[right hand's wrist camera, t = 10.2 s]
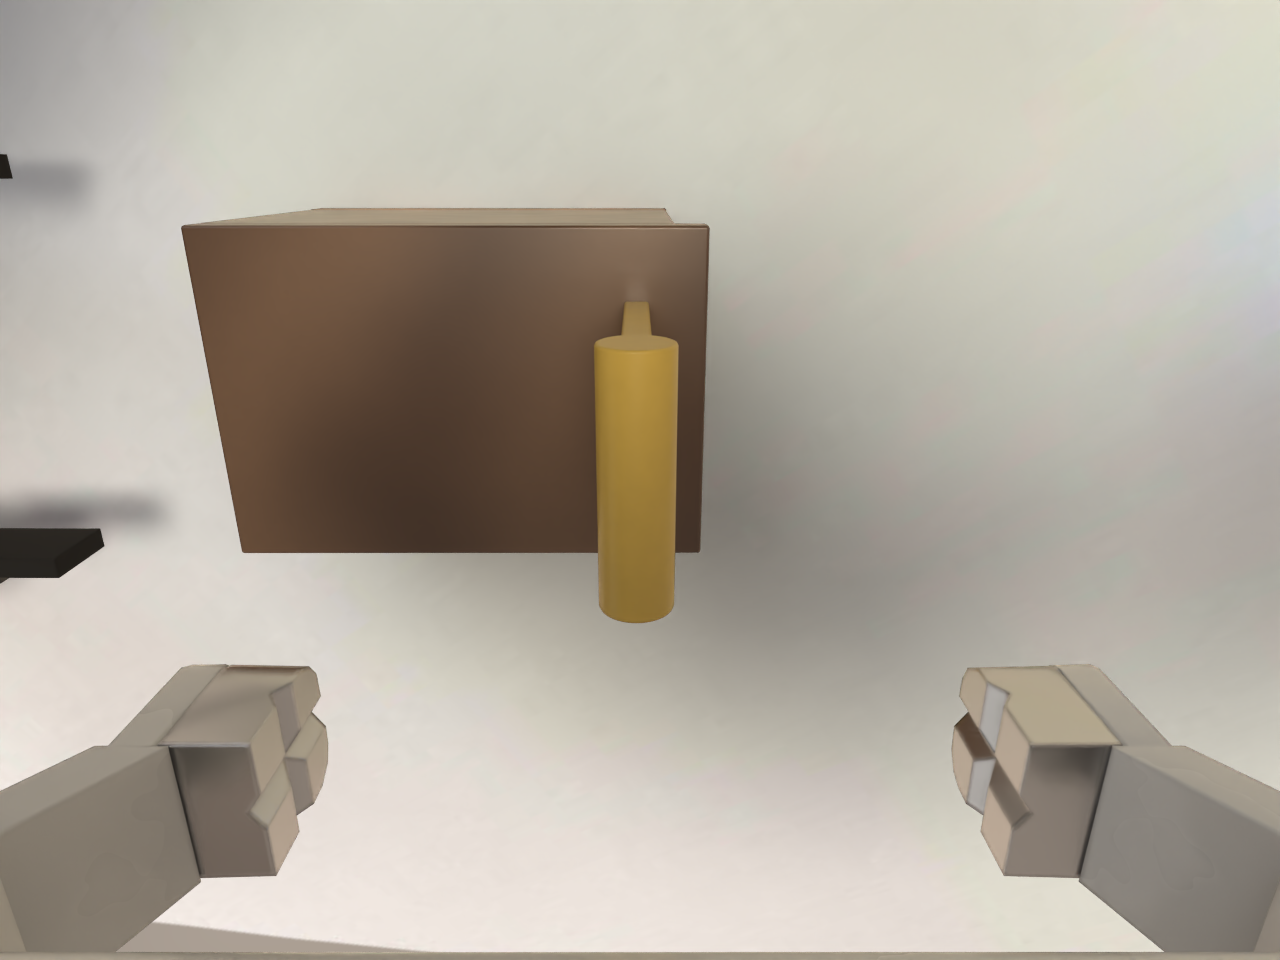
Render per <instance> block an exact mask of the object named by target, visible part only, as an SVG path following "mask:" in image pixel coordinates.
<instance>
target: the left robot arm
mask: <svg viewBox="0 0 1280 960" xmlns="http://www.w3.org/2000/svg"><path fill="white" fill-rule="evenodd" d="M0 179H12V174H11V170H10V166H9V162H8V158H7V154H0ZM102 547H104V542H103V538H102V534H101V530H100V529H49V528H0V583H2V582H4V581H5V580H7V579H8V578H60V577H61V576H62V575H64V574H65V573H67V572H68V571H70V570H71V569H72V568H74V567H75V566H77V565H78V564H80V563H81V562H82V561H84V560H85V559H87V558H88V557H90V556H91V555H92V554H94V553H95V552H97V551H98V550H100V549H101V548H102Z"/></svg>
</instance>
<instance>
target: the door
mask: <svg viewBox="0 0 1280 960" xmlns="http://www.w3.org/2000/svg"><path fill="white" fill-rule="evenodd" d="M181 230H182V235H183V240H184V245H185V251H186V256H187V261H188V267H189V272H190V277H191V283H192V288H193V293H194V299H195V304H196V309H197V314H198V320H199V325H200V330H201V336H202V341H203V346H204V352H205V357H206V362H207V367H208V373H209V378H210V383H211V389H212V394H213V399H214V405H215V410H216V415H217V421H218V426H219V431H220V436H221V442H222V447H223V452H224V458H225V463H226V468H227V474H228V479H229V484H230V489H231V495H232V500H233V505H234V511H235V516H236V521H237V527H238V532H239V537H240V542H241V548H242V552H243V553H598V576H599V606H600V608H601V610H602V612H603V613H604V614H606V615H607V616H608V617H610V618H612V619H615V620H618V621H622V622H628V623H645V622H651V621H655V620H658V619H661V618H663V617H665V616H666V615H668V614H669V613H670V612H671V610H672V608H673V606H674V580H675V553H698V552H699V551H700V542H701V507H702V473H703V439H704V404H705V370H706V335H707V301H708V267H709V232H710V228H709V226H708V225H706V224H440V223H198V224H190V225H183V226H182V228H181Z"/></svg>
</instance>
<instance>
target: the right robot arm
mask: <svg viewBox="0 0 1280 960" xmlns="http://www.w3.org/2000/svg"><path fill="white" fill-rule="evenodd" d="M320 697H321V694H320V690H319V685H318V680H317V675H316V673H315V672H314V671H313V670H312V669H311V668H310V667H309V666H265V665H230V666H229V665H226V664H220V665H190V666H186V667H182V668H181V669H180V670H179V671H178V672H177V673H176V674H175V675H174V676H173V677H172V678H171V679H170V680H169V681H168V682H167V684H166V685H165V686H164V687H163V688H162V689H161V690H160V691H159V692H158V693H157V694H156V695H155V696H154V697H153V698H152V700H151V701H150V702H149V703H148V704H147V705H146V706H145V707H144V708H143V709H142V710H141V711H140V712H139V713H138V714H137V716H136V717H135V718H134V719H133V720H132V721H131V722H130V723H129V724H128V725H127V726H126V727H125V728H124V729H123V730H122V732H121V733H120V734H119V735H118V736H117V737H116V738H115V739H114V740H113V741H112V742H111V743H110V744H109V745H108V746H94V747H91V748H89V749H87V750H85V751H83V752H81V753H79V754H77V755H75V756H73V757H71V758H68V759H66V760H64V761H62V762H60V763H58V764H56V765H54V766H52V767H50V768H48V769H45V770H43V771H41V772H39V773H37V774H35V775H33V776H31V777H29V778H27V779H25V780H22V781H20V782H18V783H16V784H14V785H12V786H10V787H8V788H6V789H4V790H2V791H0V960H1280V791H1278V790H1276V789H1274V788H1272V787H1270V786H1268V785H1266V784H1264V783H1262V782H1259V781H1257V780H1255V779H1253V778H1251V777H1249V776H1247V775H1245V774H1243V773H1241V772H1239V771H1237V770H1234V769H1232V768H1230V767H1228V766H1226V765H1224V764H1222V763H1220V762H1218V761H1216V760H1214V759H1211V758H1209V757H1207V756H1205V755H1203V754H1201V753H1199V752H1197V751H1195V750H1193V749H1191V748H1189V747H1186V746H1172V745H1171V744H1170V743H1169V742H1168V741H1167V740H1166V739H1165V738H1164V737H1163V736H1162V735H1161V734H1160V733H1159V732H1158V730H1157V729H1156V728H1155V727H1154V726H1153V725H1152V724H1151V723H1150V722H1149V721H1148V720H1147V719H1146V718H1145V717H1144V715H1143V714H1142V713H1141V712H1140V711H1139V710H1138V709H1137V708H1136V707H1135V706H1134V705H1133V704H1132V703H1131V702H1130V701H1129V699H1128V698H1127V697H1126V696H1125V695H1124V694H1123V693H1122V692H1121V691H1120V690H1119V689H1118V688H1117V687H1116V686H1115V684H1114V683H1113V682H1112V681H1111V680H1110V679H1109V678H1108V677H1107V676H1106V675H1105V674H1104V673H1103V672H1102V671H1101V670H1100V669H1099V668H1097V667H1095V666H1092V665H1090V664H1075V665H1049V666H1024V667H976V668H967V670H966V672H965V674H964V676H963V678H962V683H961V689H960V694H959V697H960V698H961V700H962V702H963V703H964V705H965V707H966V708H967V710H968V713H967V714H966V715H965V716H964V717H963V718H962V719H961V720H960V721H959V722H958V723H957V724H956V725H955V726H954V732H953V740H952V749H951V750H952V760H953V771H954V775H955V778H956V781H957V785H958V788H959V790H960V792H961V794H962V796H963V798H964V800H965V802H966V804H967V805H969V806H970V807H972V808H973V809H975V810H976V811H978V812H979V813H980V814H982V815H983V820H982V826H981V833H982V835H983V837H984V839H985V841H986V843H987V845H988V847H989V849H990V850H991V852H992V854H993V856H994V858H995V860H996V862H997V864H998V866H999V868H1000V869H1001V871H1002V873H1003V875H1004V876H1025V877H1061V878H1079V882H1080V883H1081V884H1083V885H1084V886H1085V887H1086V888H1087V889H1089V890H1090V891H1091V892H1092V893H1093V894H1095V895H1096V896H1097V897H1098V898H1100V899H1101V900H1102V901H1103V902H1104V903H1106V904H1107V905H1108V906H1109V907H1111V908H1112V909H1113V910H1114V911H1115V912H1117V913H1118V914H1119V915H1120V916H1122V917H1123V918H1124V919H1125V920H1126V921H1128V922H1129V923H1130V924H1131V925H1132V926H1134V927H1135V928H1136V929H1137V930H1139V931H1140V932H1141V933H1142V934H1143V935H1145V936H1146V937H1147V938H1148V939H1150V940H1151V941H1152V942H1153V943H1154V944H1156V945H1157V946H1158V947H1159V948H1161V949H1162V950H1163V951H1164V952H116V951H117V950H118V949H120V948H121V947H122V946H123V945H125V944H126V943H127V942H128V941H129V940H131V939H132V938H133V937H134V936H136V935H137V934H138V933H139V932H140V931H142V930H143V929H144V928H145V927H146V926H148V925H149V924H150V923H151V922H153V921H154V920H155V919H156V918H158V917H159V916H160V915H161V914H162V913H164V912H165V911H166V910H167V909H169V908H170V907H171V906H172V905H173V904H175V903H176V902H177V901H178V900H180V899H181V898H182V897H183V896H184V895H186V894H187V893H188V892H189V891H191V890H192V889H193V888H194V887H195V886H197V885H198V884H199V883H200V882H201V879H200V878H218V877H253V876H276V875H277V873H278V871H279V870H280V868H281V866H282V864H283V862H284V860H285V858H286V856H287V854H288V852H289V850H290V849H291V847H292V845H293V843H294V841H295V839H296V837H297V835H298V833H299V826H298V821H297V815H298V814H300V813H301V812H302V811H304V810H305V809H307V808H308V807H310V806H311V805H313V804H314V802H315V800H316V798H317V796H318V794H319V792H320V790H321V788H322V786H323V782H324V777H325V773H326V768H327V764H328V738H327V731H326V726H325V725H324V724H323V723H322V722H321V721H320V720H319V719H318V718H317V717H316V716H315V715H314V714H313V713H312V710H313V708H314V707H315V705H316V703H317V702H318V700H319V698H320Z"/></svg>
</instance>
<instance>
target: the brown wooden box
mask: <svg viewBox="0 0 1280 960" xmlns="http://www.w3.org/2000/svg"><path fill="white" fill-rule="evenodd" d="M206 223H440V224H674V223H673V221H672V220H671V218H670V217H669V215H668V214H667V213H666V210H665V208H320V209H311V210H307V211H298V212H290V213H282V214H273V215H265V216H256V217H248V218H239V219H231V220H222V221H214V222H206Z"/></svg>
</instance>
